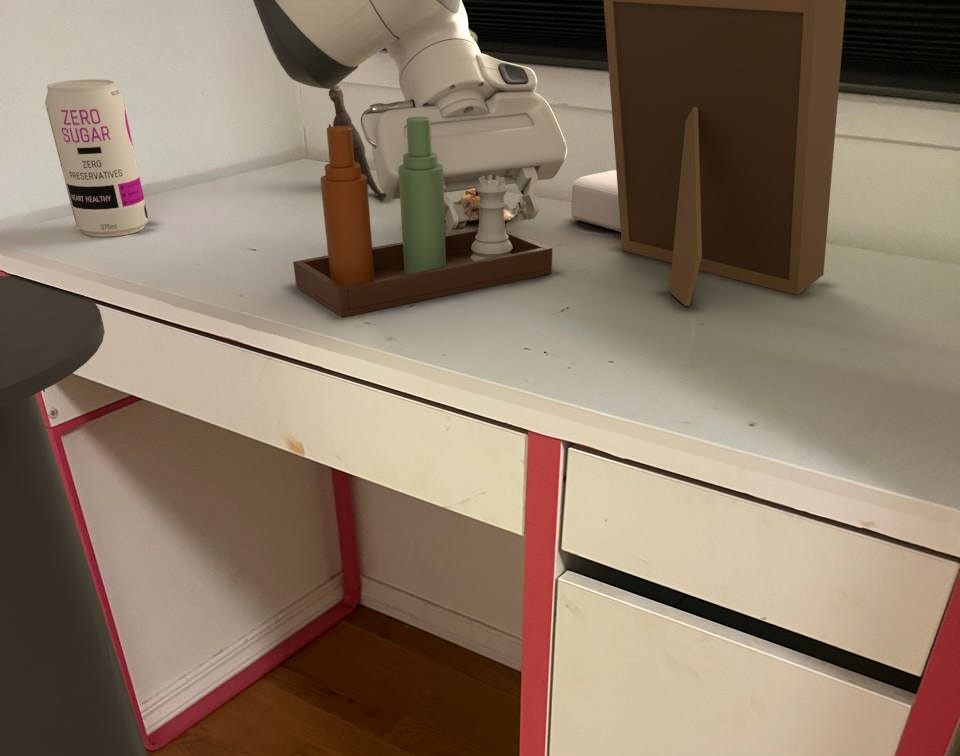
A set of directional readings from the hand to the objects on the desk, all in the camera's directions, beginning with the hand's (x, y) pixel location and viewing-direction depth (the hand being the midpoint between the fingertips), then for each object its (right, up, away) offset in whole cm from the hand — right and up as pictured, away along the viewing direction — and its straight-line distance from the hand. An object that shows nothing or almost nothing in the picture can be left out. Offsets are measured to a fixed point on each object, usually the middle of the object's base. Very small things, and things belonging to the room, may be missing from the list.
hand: (495, 221), depth 96 cm
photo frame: (+19, -6, 0) cm, 20 cm away
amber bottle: (-14, -8, -4) cm, 16 cm away
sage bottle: (-7, -6, 0) cm, 9 cm away
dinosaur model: (-17, +17, +31) cm, 39 cm away
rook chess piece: (0, -3, +3) cm, 4 cm away
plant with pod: (-1, +9, +19) cm, 21 cm away
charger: (+18, +6, +15) cm, 24 cm away
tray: (-7, -6, 0) cm, 9 cm away
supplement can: (-45, +6, +17) cm, 48 cm away
